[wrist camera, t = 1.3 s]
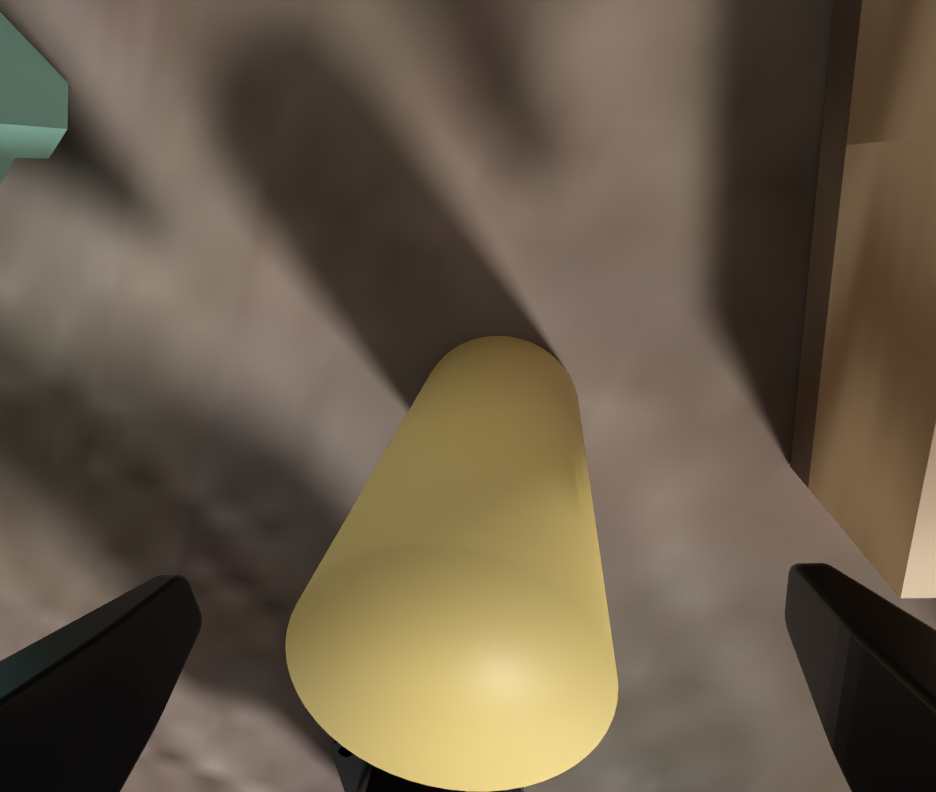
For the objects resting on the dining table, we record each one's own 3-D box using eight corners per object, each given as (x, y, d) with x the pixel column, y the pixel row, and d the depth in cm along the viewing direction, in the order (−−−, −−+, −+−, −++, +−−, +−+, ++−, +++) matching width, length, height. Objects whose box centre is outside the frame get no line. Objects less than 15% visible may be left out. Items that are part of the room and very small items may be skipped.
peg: (583, 475, 14) (622, 799, 7) (435, 482, 15) (327, 783, 7) (573, 327, 13) (611, 538, 5) (410, 343, 13) (245, 547, 6)
